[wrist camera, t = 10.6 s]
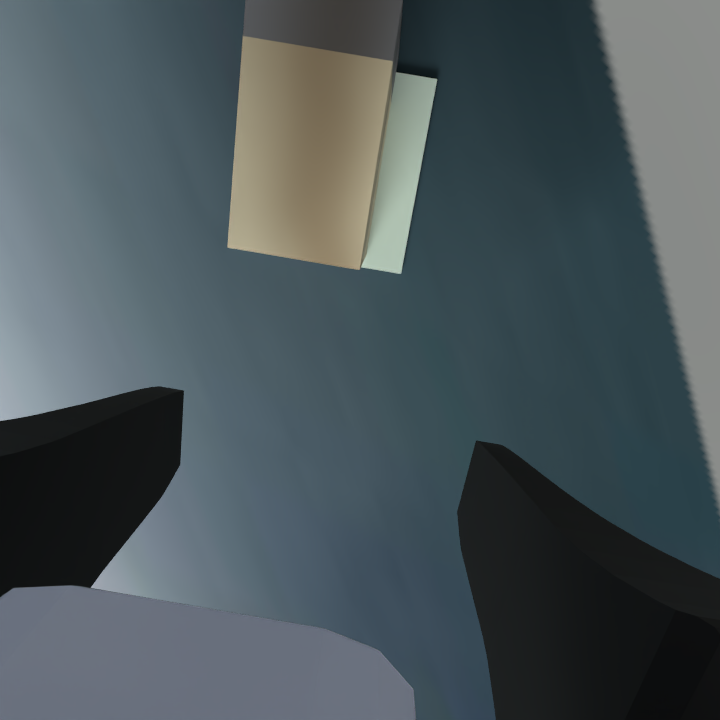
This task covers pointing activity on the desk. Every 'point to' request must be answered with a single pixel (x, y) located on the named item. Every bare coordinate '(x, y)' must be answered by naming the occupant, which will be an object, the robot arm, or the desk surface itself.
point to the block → (312, 126)
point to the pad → (399, 171)
